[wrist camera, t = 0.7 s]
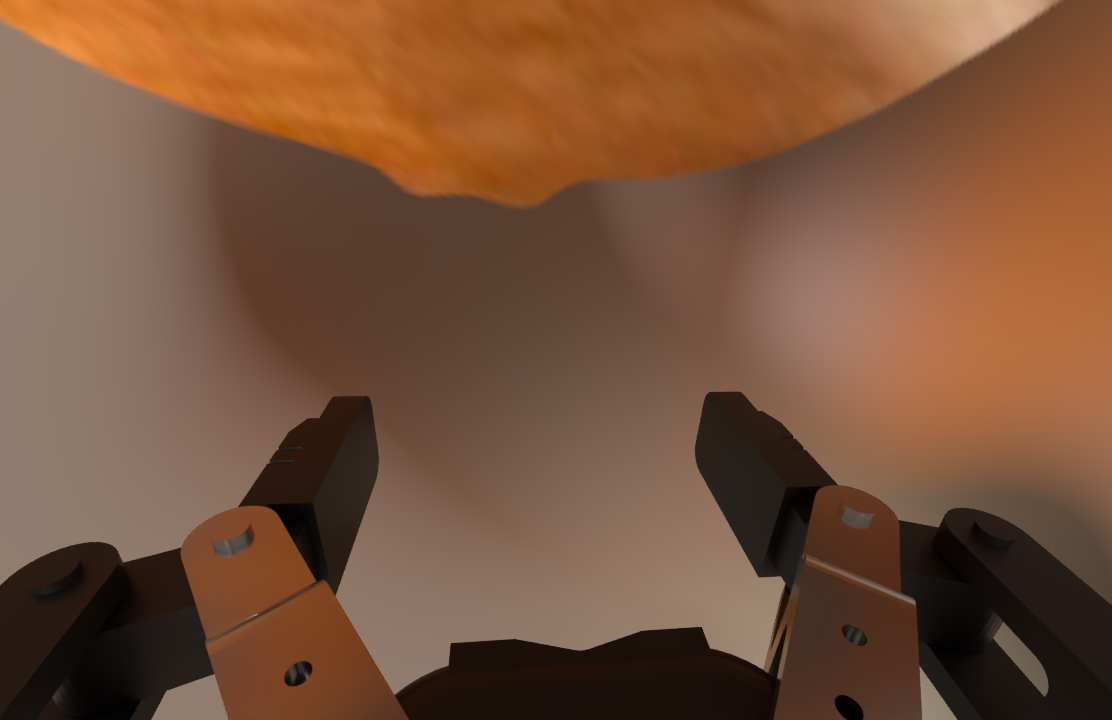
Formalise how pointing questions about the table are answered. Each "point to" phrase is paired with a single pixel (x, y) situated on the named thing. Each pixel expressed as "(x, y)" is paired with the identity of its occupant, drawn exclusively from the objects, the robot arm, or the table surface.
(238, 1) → the table surface
